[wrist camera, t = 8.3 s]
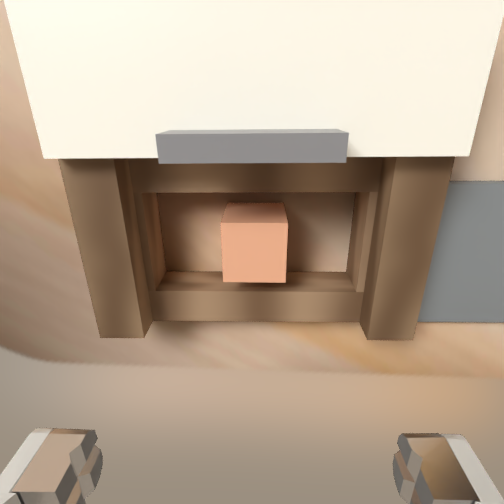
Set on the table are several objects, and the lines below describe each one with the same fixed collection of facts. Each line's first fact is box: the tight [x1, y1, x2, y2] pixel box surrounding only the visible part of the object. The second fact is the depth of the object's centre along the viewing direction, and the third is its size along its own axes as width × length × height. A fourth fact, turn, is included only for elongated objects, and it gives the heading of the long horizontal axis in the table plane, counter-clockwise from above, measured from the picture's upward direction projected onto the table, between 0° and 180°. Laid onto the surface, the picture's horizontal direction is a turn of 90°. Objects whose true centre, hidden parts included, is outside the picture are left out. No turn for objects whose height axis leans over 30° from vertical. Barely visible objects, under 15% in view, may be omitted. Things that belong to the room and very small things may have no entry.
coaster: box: [417, 181, 504, 322], centre depth 25 cm, size 11×11×1 cm
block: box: [221, 203, 288, 283], centre depth 23 cm, size 4×4×4 cm
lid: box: [4, 0, 504, 164], centre depth 14 cm, size 21×9×3 cm, turn 91°
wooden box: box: [58, 156, 455, 340], centre depth 22 cm, size 21×16×5 cm
